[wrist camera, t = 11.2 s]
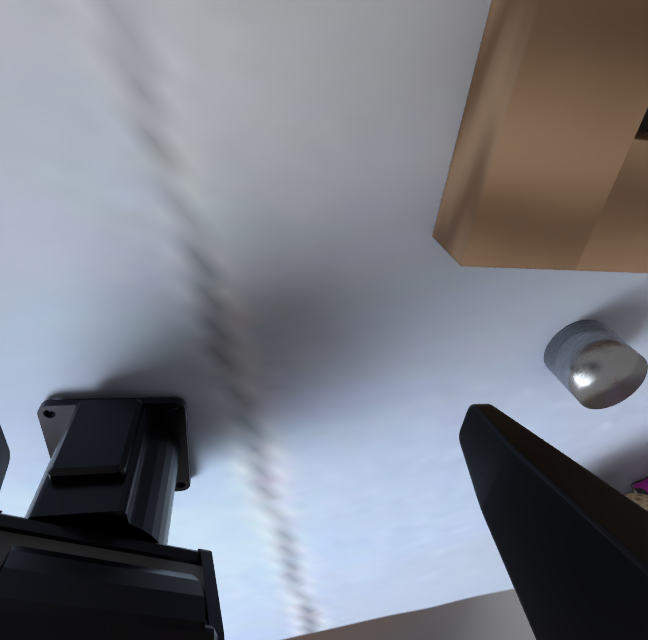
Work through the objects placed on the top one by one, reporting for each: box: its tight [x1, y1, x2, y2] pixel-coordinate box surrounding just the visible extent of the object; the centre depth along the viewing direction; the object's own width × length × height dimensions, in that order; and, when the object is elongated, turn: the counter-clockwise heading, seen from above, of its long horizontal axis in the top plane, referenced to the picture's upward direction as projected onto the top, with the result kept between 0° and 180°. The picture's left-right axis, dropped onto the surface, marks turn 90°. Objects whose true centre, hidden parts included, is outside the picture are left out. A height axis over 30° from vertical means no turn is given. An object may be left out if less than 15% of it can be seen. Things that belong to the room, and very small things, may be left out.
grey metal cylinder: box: [544, 320, 648, 409], centre depth 23 cm, size 4×4×3 cm
